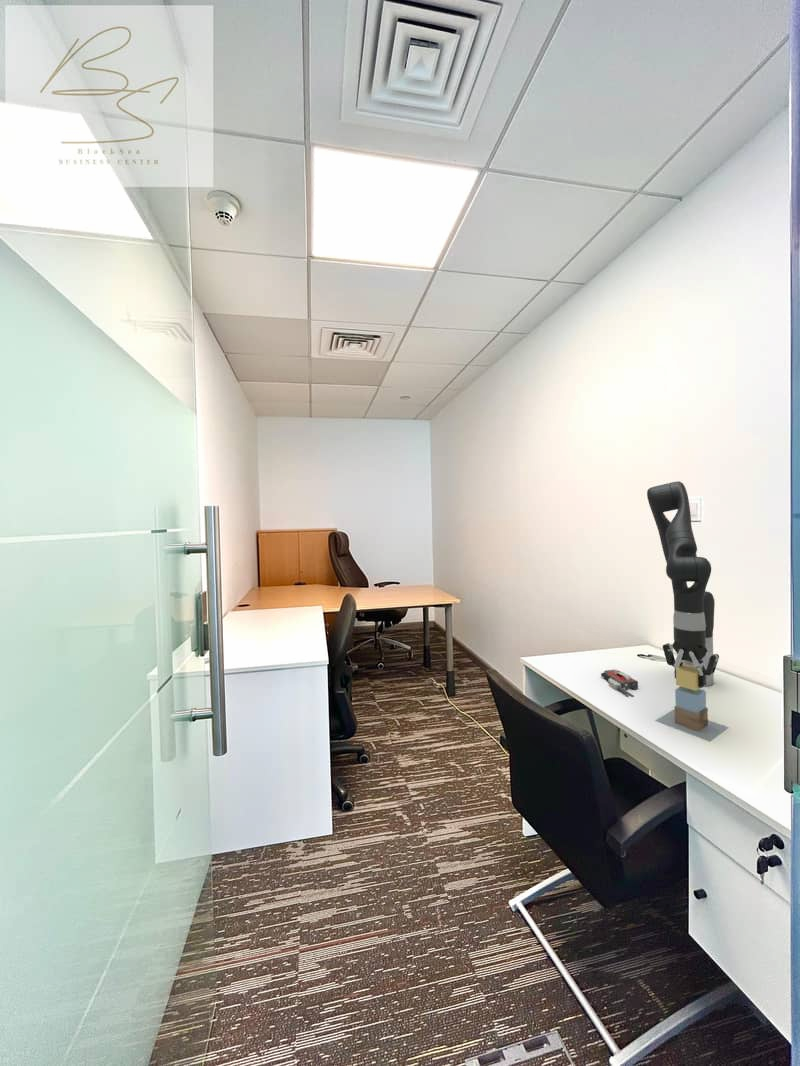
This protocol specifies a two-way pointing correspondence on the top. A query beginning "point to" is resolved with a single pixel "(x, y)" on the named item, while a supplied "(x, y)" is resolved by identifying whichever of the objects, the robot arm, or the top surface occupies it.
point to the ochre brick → (687, 677)
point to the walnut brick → (691, 718)
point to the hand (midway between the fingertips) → (690, 683)
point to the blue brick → (690, 699)
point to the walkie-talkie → (620, 681)
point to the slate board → (706, 733)
